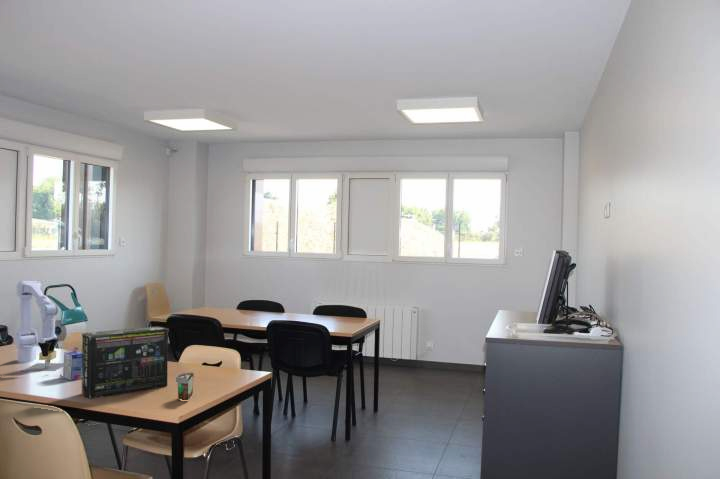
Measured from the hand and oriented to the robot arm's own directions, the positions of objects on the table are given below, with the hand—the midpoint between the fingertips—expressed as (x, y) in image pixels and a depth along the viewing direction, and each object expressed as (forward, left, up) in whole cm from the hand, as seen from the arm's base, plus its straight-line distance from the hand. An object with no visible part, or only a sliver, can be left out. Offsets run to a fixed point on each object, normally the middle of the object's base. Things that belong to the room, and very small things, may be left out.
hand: (47, 355), depth 290 cm
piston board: (-3, -2, -8) cm, 9 cm away
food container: (+54, +77, -8) cm, 94 cm away
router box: (+39, +49, -8) cm, 63 cm away
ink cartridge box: (+16, +18, -8) cm, 25 cm away
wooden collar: (0, 0, -2) cm, 2 cm away
